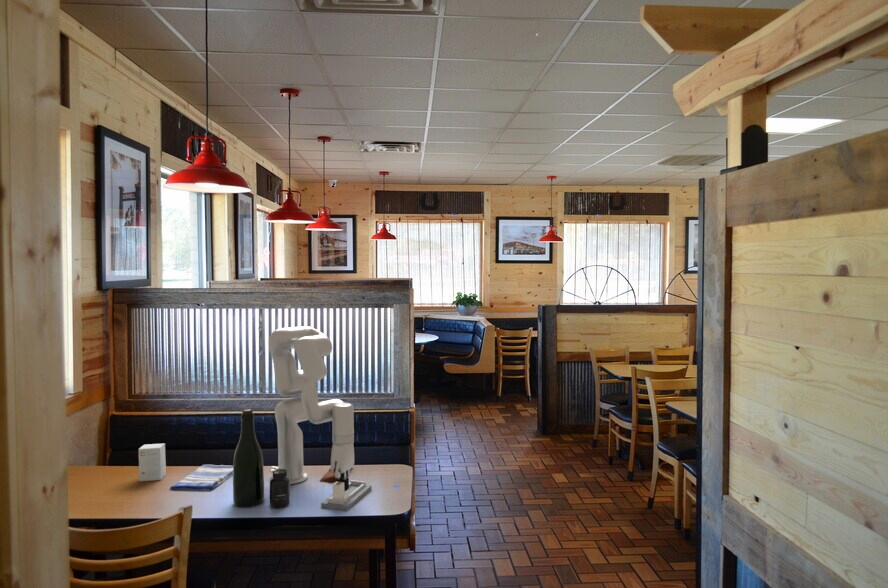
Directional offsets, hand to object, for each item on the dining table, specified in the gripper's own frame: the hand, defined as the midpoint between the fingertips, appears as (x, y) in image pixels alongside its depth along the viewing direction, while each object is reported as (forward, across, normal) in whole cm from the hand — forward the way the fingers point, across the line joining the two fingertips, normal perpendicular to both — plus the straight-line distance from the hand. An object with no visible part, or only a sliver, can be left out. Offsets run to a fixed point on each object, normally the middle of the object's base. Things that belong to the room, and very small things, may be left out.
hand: (343, 489), depth 199 cm
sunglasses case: (+5, -24, -15) cm, 28 cm away
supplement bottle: (+4, +9, -20) cm, 22 cm away
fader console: (+4, -3, 0) cm, 5 cm away
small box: (+4, 0, -84) cm, 84 cm away
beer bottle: (+4, +10, -32) cm, 34 cm away
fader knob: (+2, +4, 0) cm, 5 cm away
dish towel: (+5, -5, -62) cm, 63 cm away
